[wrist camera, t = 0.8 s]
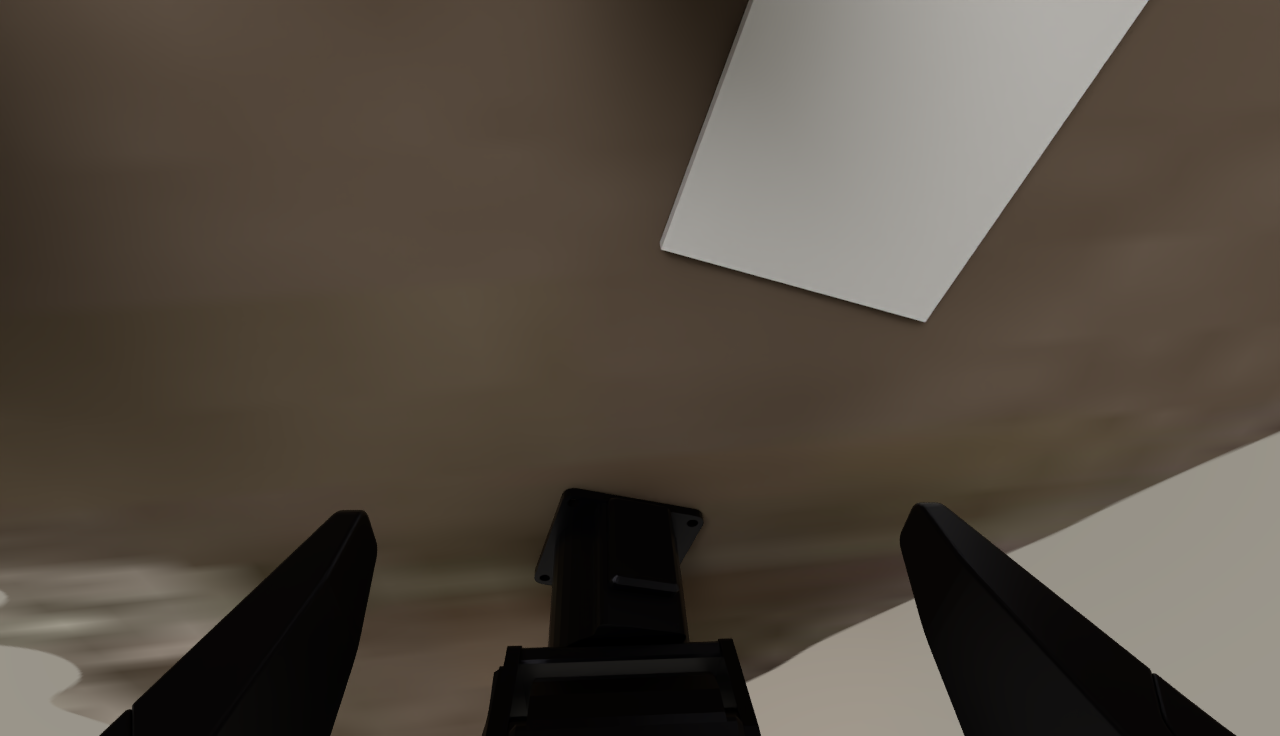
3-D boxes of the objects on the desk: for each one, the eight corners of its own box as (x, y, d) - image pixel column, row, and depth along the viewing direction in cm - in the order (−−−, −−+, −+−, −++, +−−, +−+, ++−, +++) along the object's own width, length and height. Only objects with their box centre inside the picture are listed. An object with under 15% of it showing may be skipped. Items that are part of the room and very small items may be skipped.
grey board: (919, 314, 22) (925, 321, 22) (659, 242, 20) (660, 249, 20) (1329, -287, 13) (1351, -292, 13) (947, -540, 11) (960, -557, 11)
